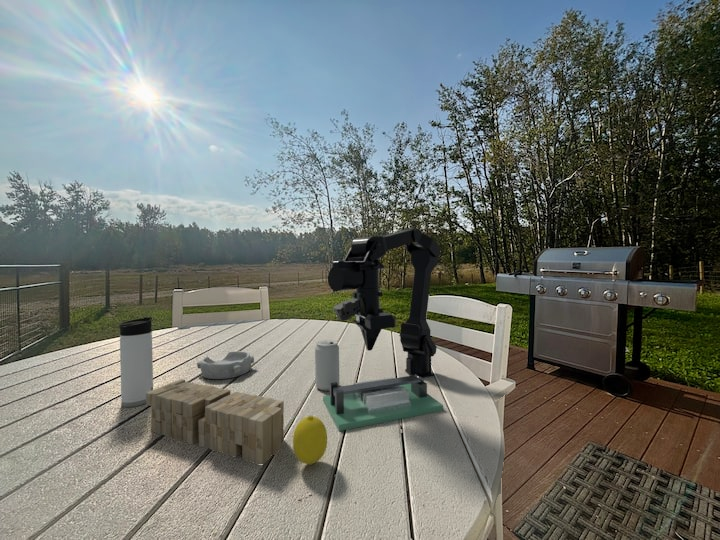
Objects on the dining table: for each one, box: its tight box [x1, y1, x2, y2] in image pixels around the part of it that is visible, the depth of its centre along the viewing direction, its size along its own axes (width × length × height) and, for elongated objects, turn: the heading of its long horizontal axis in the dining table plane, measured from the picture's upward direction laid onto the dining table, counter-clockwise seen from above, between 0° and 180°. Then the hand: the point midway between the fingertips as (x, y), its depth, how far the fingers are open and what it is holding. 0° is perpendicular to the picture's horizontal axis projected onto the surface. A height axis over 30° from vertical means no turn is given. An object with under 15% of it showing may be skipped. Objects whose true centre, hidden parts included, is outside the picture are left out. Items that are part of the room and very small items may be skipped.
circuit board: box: [322, 384, 444, 432], centre depth 70 cm, size 24×14×1 cm, turn 110°
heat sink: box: [329, 376, 428, 414], centre depth 70 cm, size 22×10×5 cm, turn 110°
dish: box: [196, 350, 255, 380], centre depth 94 cm, size 14×14×5 cm
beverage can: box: [314, 339, 341, 392], centre depth 81 cm, size 6×6×12 cm
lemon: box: [292, 414, 328, 466], centre depth 50 cm, size 6×6×8 cm
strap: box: [333, 374, 425, 396], centre depth 70 cm, size 22×3×1 cm, turn 110°
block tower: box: [145, 378, 285, 465], centre depth 59 cm, size 8×8×29 cm
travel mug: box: [119, 316, 154, 408], centre depth 74 cm, size 6×7×20 cm
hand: (369, 350), depth 76 cm, fingers closed
